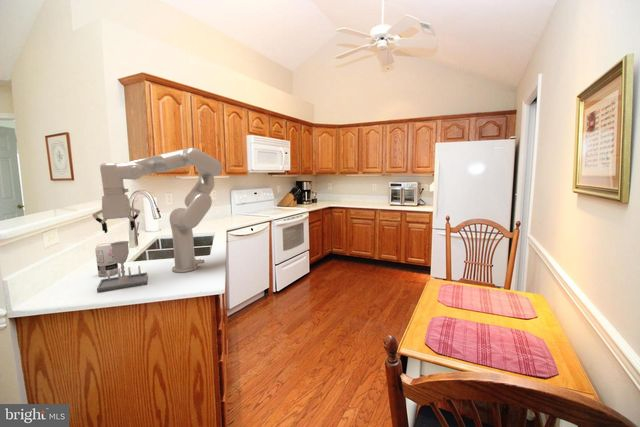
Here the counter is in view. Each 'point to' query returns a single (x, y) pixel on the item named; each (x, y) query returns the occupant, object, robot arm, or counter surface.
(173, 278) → the counter surface
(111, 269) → the supplement can
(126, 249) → the chalice
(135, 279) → the drying rack
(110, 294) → the counter surface
